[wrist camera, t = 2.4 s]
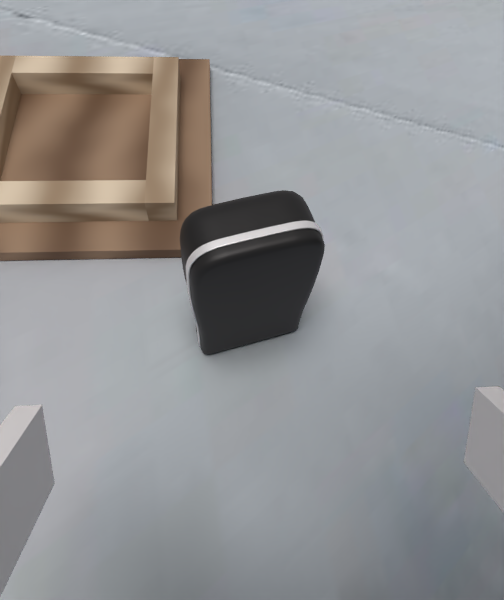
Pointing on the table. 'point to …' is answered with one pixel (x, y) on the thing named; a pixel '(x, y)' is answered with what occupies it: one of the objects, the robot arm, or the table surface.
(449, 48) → the table surface
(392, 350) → the table surface
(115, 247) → the holder
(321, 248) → the battery charger
